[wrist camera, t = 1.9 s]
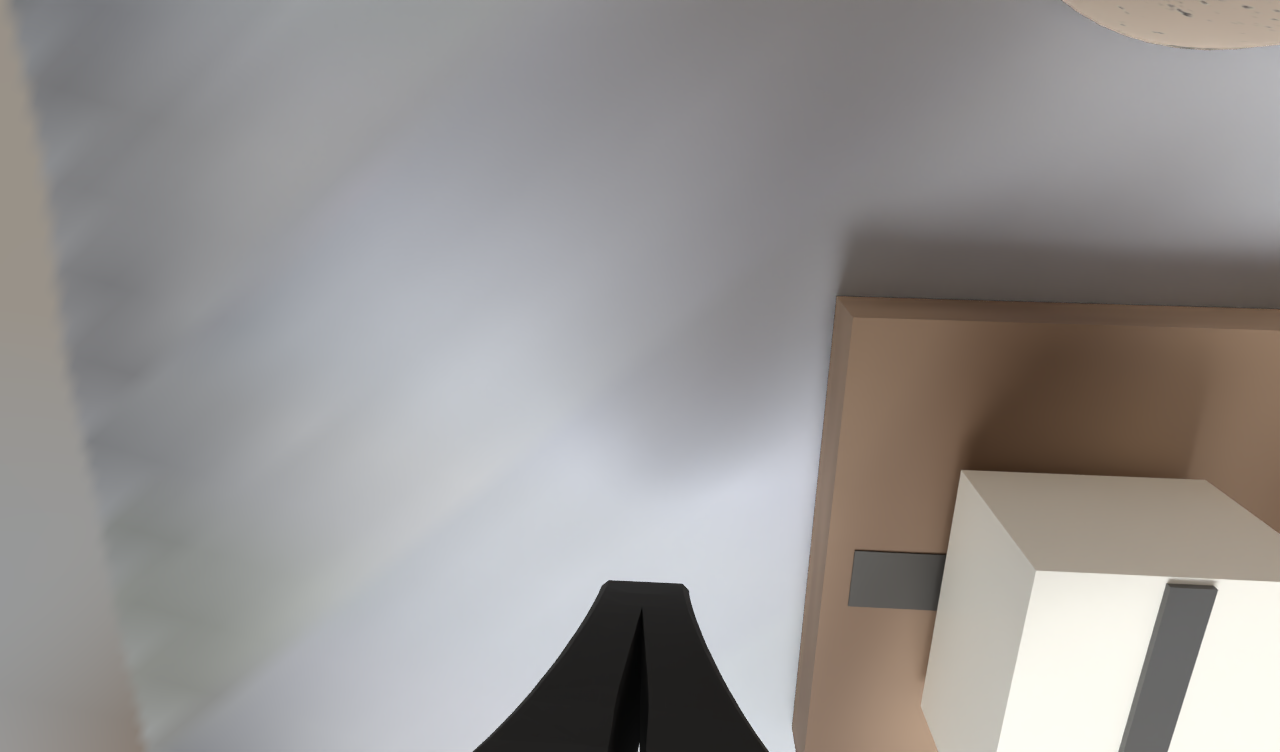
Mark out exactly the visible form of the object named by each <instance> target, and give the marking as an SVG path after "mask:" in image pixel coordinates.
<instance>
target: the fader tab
mask: <svg viewBox="0 0 1280 752" xmlns="http://www.w3.org/2000/svg"><path fill="white" fill-rule="evenodd" d="M921 708H922V711H923V713H924V716H925V719H926V721H927V724H928V726H929V729H930V732H931V734H932V737H933V739H934V742H935V745H936V747H937V750H938V752H1280V534H1279V533H1278V532H1276V531H1275V530H1274V529H1272V528H1271V527H1270V526H1268V525H1267V524H1265V523H1264V522H1263V521H1261V520H1260V519H1259V518H1257V517H1256V516H1254V515H1253V514H1252V513H1250V512H1249V511H1248V510H1246V509H1245V508H1243V507H1242V506H1241V505H1239V504H1238V503H1237V502H1235V501H1234V500H1232V499H1231V498H1230V497H1228V496H1227V495H1226V494H1224V493H1223V492H1221V491H1220V490H1219V489H1217V488H1216V487H1215V486H1213V485H1212V484H1210V483H1209V482H1208V481H1206V480H1196V479H1171V478H1147V477H1122V476H1097V475H1073V474H1048V473H1024V472H999V471H975V470H961V474H960V480H959V486H958V491H957V497H956V503H955V509H954V515H953V521H952V526H951V532H950V538H949V544H948V550H947V556H946V561H945V567H944V573H943V579H942V585H941V591H940V596H939V602H938V608H937V614H936V620H935V626H934V631H933V637H932V643H931V649H930V655H929V660H928V666H927V672H926V678H925V684H924V690H923V695H922V701H921Z"/></svg>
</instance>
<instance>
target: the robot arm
mask: <svg viewBox="0 0 1280 752" xmlns="http://www.w3.org/2000/svg"><path fill="white" fill-rule="evenodd" d="M639 743H640V752H769V751H768V750H767V748H766V747H765V746H764V744H763V743H762V741H761V740H760V739H759V737H758V736H757V734H756V733H755V731H754V730H753V728H752V727H751V725H750V724H749V722H748V721H747V719H746V718H745V716H744V714H743V713H742V711H741V710H740V708H739V706H738V704H737V703H736V701H735V699H734V698H733V696H732V694H731V692H730V691H729V689H728V687H727V685H726V683H725V682H724V680H723V678H722V676H721V674H720V672H719V670H718V668H717V666H716V664H715V662H714V660H713V658H712V656H711V654H710V651H709V649H708V647H707V645H706V643H705V640H704V638H703V636H702V633H701V631H700V628H699V626H698V623H697V620H696V617H695V614H694V611H693V608H692V605H691V601H690V596H689V590H688V589H687V588H686V587H685V586H684V585H683V584H676V583H655V582H633V581H612V580H609V581H607V582H606V583H605V584H604V585H602V587H601V589H600V591H599V594H598V596H597V597H596V599H595V601H594V603H593V605H592V607H591V609H590V610H589V612H588V614H587V615H586V617H585V619H584V620H583V622H582V623H581V625H580V627H579V628H578V630H577V631H576V633H575V634H574V636H573V637H572V638H571V640H570V641H569V643H568V644H567V646H566V647H565V649H564V650H563V651H562V653H561V654H560V656H559V657H558V659H557V660H556V661H555V663H554V664H553V665H552V666H551V668H550V669H549V670H548V671H547V673H546V674H545V675H544V676H543V678H542V679H541V680H540V681H539V683H538V684H537V685H536V686H535V688H534V689H533V690H532V691H531V693H530V694H529V695H528V696H527V697H526V698H525V699H524V701H523V702H522V703H521V704H520V705H519V706H518V707H517V708H516V710H515V711H514V712H513V713H512V714H511V715H510V716H509V717H508V718H507V719H506V720H505V721H504V722H503V723H502V724H501V725H500V726H499V727H498V728H497V729H496V730H495V731H494V732H493V733H492V734H491V735H490V736H489V737H488V738H487V739H486V740H485V741H484V742H483V743H482V744H481V745H479V746H478V747H477V748H476V749H475V750H474V751H473V752H638V748H639Z"/></svg>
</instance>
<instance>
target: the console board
mask: <svg viewBox="0 0 1280 752" xmlns="http://www.w3.org/2000/svg"><path fill="white" fill-rule="evenodd" d="M961 470H975V471H999V472H1024V473H1048V474H1073V475H1097V476H1122V477H1147V478H1171V479H1196V480H1206V481H1208V482H1209V483H1210V484H1212V485H1213V486H1215V487H1216V488H1217V489H1219V490H1220V491H1221V492H1223V493H1224V494H1226V495H1227V496H1228V497H1230V498H1231V499H1232V500H1234V501H1235V502H1237V503H1238V504H1239V505H1241V506H1242V507H1243V508H1245V509H1246V510H1248V511H1249V512H1250V513H1252V514H1253V515H1254V516H1256V517H1257V518H1259V519H1260V520H1261V521H1263V522H1264V523H1265V524H1267V525H1268V526H1270V527H1271V528H1272V529H1274V530H1275V531H1276V532H1278V533H1279V534H1280V309H1254V308H1221V307H1187V306H1153V305H1120V304H1086V303H1052V302H1019V301H985V300H951V299H918V298H884V297H850V296H837V298H836V307H835V317H834V327H833V336H832V346H831V356H830V365H829V375H828V385H827V394H826V404H825V414H824V423H823V433H822V443H821V452H820V462H819V472H818V481H817V491H816V500H815V510H814V520H813V529H812V539H811V549H810V558H809V568H808V578H807V587H806V597H805V607H804V616H803V626H802V636H801V645H800V655H799V665H798V674H797V684H796V694H795V703H794V713H793V723H792V731H793V737H794V743H795V749H796V752H938V750H937V747H936V745H935V742H934V739H933V737H932V734H931V732H930V729H929V726H928V724H927V721H926V719H925V716H924V713H923V711H922V708H921V701H922V695H923V690H924V684H925V678H926V672H927V666H928V660H929V655H930V649H931V643H932V637H933V631H934V626H935V620H936V614H937V608H938V602H939V596H940V591H941V585H942V579H943V573H944V567H945V561H946V556H947V550H948V544H949V538H950V532H951V526H952V521H953V515H954V509H955V503H956V497H957V491H958V486H959V480H960V474H961Z"/></svg>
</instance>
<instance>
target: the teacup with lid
mask: <svg viewBox="0 0 1280 752" xmlns="http://www.w3.org/2000/svg"><path fill="white" fill-rule="evenodd" d="M1062 1H1063V2H1065V3H1066V4H1067V5H1069V6H1070V7H1071V8H1073V9H1074V10H1075V11H1077V12H1078V13H1080V14H1082V15H1083V16H1085V17H1087V18H1089V19H1090V20H1092V21H1094V22H1095V23H1097V24H1099V25H1101V26H1103V27H1106V28H1108V29H1110V30H1113V31H1115V32H1117V33H1119V34H1122V35H1125V36H1128V37H1131V38H1134V39H1138V40H1141V41H1144V42H1148V43H1153V44H1158V45H1164V46H1169V47H1175V48H1185V49H1199V50H1226V49H1242V48H1252V47H1262V46H1272V45H1280V0H1062Z"/></svg>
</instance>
